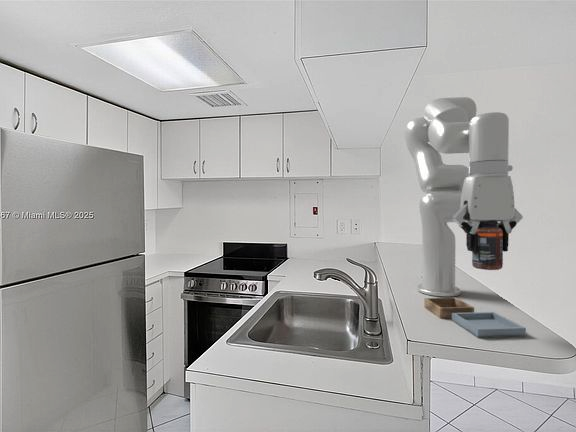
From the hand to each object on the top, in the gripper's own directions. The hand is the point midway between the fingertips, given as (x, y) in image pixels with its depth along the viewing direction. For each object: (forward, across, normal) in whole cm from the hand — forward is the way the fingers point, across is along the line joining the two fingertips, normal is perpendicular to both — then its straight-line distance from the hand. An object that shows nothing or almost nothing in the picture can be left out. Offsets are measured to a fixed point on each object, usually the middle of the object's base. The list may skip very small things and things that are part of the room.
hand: (487, 250), depth 74 cm
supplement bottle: (+4, 0, 0) cm, 4 cm away
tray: (+18, 0, 0) cm, 18 cm away
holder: (+18, +3, -11) cm, 21 cm away
